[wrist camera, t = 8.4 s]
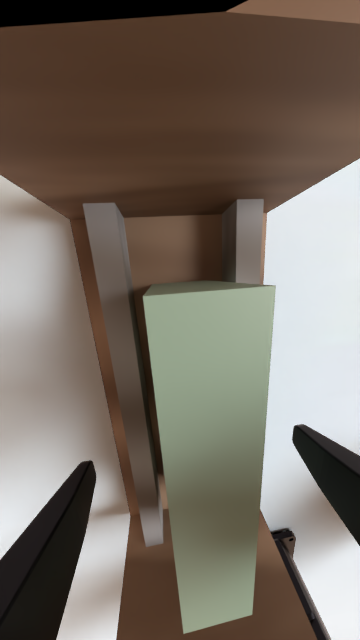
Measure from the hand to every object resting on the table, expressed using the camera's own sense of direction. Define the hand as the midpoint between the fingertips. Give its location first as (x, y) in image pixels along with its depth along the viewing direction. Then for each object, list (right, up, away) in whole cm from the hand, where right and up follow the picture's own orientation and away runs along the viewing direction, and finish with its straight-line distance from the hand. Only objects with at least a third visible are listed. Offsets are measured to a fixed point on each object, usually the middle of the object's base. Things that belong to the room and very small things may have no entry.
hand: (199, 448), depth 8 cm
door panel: (0, +1, +4) cm, 4 cm away
